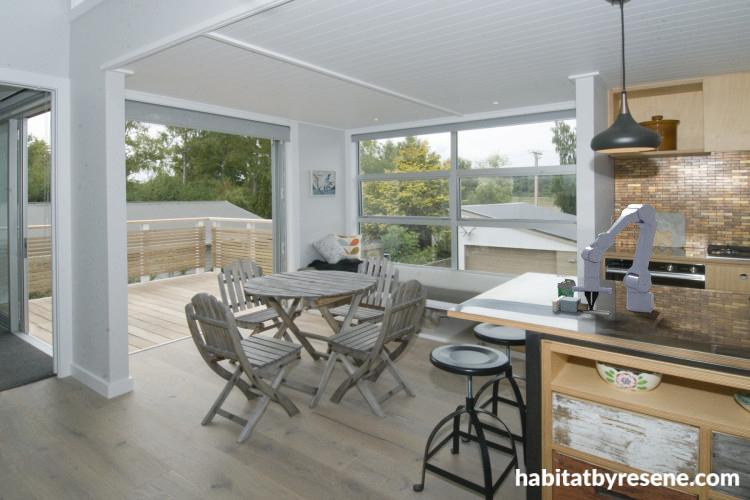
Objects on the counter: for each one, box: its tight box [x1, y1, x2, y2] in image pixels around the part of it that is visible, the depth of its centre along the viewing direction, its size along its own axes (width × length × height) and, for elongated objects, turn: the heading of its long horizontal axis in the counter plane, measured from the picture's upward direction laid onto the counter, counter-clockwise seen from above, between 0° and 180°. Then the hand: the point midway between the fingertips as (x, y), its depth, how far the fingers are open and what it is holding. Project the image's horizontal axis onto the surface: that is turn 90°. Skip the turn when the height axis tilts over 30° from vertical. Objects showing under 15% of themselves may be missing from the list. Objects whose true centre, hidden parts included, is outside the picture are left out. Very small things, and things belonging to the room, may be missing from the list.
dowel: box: [577, 302, 589, 312], centre depth 193 cm, size 8×3×3 cm, turn 52°
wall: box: [551, 296, 565, 313], centre depth 197 cm, size 2×12×6 cm, turn 141°
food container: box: [557, 278, 577, 298], centre depth 211 cm, size 12×6×10 cm, turn 143°
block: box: [560, 296, 582, 313], centre depth 194 cm, size 6×7×6 cm
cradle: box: [582, 309, 611, 316], centre depth 188 cm, size 9×5×2 cm, turn 51°
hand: (591, 309), depth 189 cm, fingers closed
